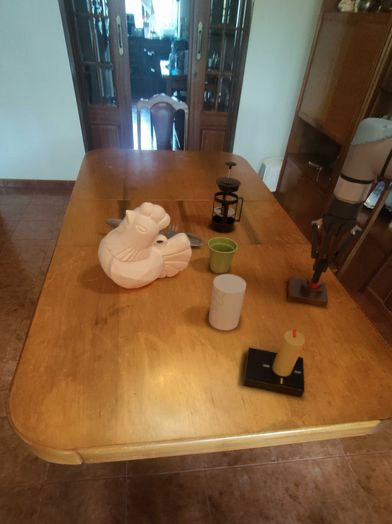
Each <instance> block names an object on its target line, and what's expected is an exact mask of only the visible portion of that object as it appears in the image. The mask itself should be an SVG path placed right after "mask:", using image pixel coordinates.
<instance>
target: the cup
mask: <svg viewBox="0 0 392 524" xmlns="http://www.w3.org/2000/svg"><path fill="white" fill-rule="evenodd" d="M246 290H247V282H246V281H245V280H244V278H243V277H241V276H238V275H236V274H233V273H221V274H219V275H216V277H215V278H213V282H212V290H211V298H210V304H209V305H210V306H209V314H208V323H209V324H210V325H211V326H212V327H213V328H214V329H217V330H220V331H231V330H233V329H236V328H237V327H238V325H239V323H240V322H239V321H240V317H241V312H242V309H243V308H242V307H243V304H244V298H245V295H246Z"/></svg>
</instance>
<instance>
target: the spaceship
mask: <svg viewBox="0 0 392 524" xmlns="http://www.w3.org/2000/svg"><path fill="white" fill-rule="evenodd" d="M123 220H124V219H120V218H116V217H106V218H105V219H104V222H105V224H106V225H108V226H110V227H112V228H117V227H118V226H119V224H120V223H121V222H122V221H123ZM178 227H179V226H177V225H176V226H175V225H174V224H173V225H172V224H169V225H168V230H167V231H166V232H164V231H163V229H162V230H160V231H159V233H158V234H162V235H164V236H165V237H166V238H167V240H168V239H170V238H171V237H173V236H175V235H177V234H178ZM184 233H185V234H186V235H187V237H188V239H189V241H190V247H202V246H204V242H205V240H204V239H202V238H201V237H199V236H197V235H195V234H194V233H191V232H184Z"/></svg>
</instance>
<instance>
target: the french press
mask: <svg viewBox="0 0 392 524" xmlns="http://www.w3.org/2000/svg"><path fill="white" fill-rule="evenodd" d="M224 165H225V166H228V176H227V177H225V176H224V177H218V178H216V179H215V183H216V184H217V187H218V189H219V191H216V192H214V195H213V203H212V212H211V222H210V226H209V227H210V229H211V230H212V231H214V232H216V233H219V234H229V233H233V231H234V230H235V223H240V222H241V217H242V212H243V207H244V200H245V199H244V197H243V196H239V195H238V194H236V193H237V192H238V191H239V189H240V186H242V185H241V184H242V182H241V181H240V180H238V179H237V178H234V177H230V176H231V170H232V167H236V166H237V165H238V164H237V162H234V161H225V162H224ZM218 196H222V199H221V198H218ZM228 197H232V198H234V199H233V200H228ZM239 200H241V203H240V207H239V213H238V214H239V215H238V219H237V218H236V216H237V210H238V205H239ZM215 203H218V204H221V206H216V207H215ZM231 205H235V210H234V208H231V207H230V206H231Z"/></svg>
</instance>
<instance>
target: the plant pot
mask: <svg viewBox="0 0 392 524" xmlns="http://www.w3.org/2000/svg"><path fill="white" fill-rule="evenodd" d="M207 247H208V251H209V269H210V270H211V272H213V273H215V274H219V275H221V274H227V272H229V270H230V267H231V263H232V260H233V258H234V254H235V253H236V252H237V250H238V248H239V245H238V243H237V241H235V240H234V239H232V238H229V237H223V236H217V237H216V236H215V237H212V238H210V239H209V240H208V241H207Z"/></svg>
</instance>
